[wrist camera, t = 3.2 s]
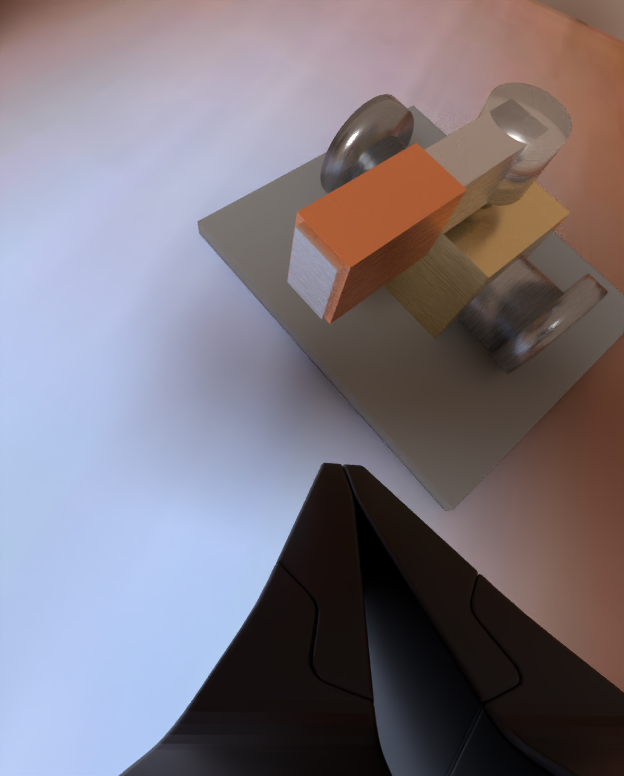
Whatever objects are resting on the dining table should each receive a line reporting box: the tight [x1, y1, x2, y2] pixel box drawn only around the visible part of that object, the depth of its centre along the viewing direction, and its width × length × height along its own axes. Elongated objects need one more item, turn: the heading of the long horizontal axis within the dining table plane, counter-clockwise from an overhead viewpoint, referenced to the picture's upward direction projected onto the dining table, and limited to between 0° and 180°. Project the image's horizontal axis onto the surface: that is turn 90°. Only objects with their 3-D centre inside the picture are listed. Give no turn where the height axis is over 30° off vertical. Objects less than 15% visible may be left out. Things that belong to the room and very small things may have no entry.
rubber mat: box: [198, 106, 624, 511], centre depth 21 cm, size 17×15×1 cm
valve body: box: [320, 94, 608, 374], centre depth 18 cm, size 12×5×6 cm, turn 41°
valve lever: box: [287, 83, 572, 324], centre depth 13 cm, size 10×3×3 cm, turn 131°
